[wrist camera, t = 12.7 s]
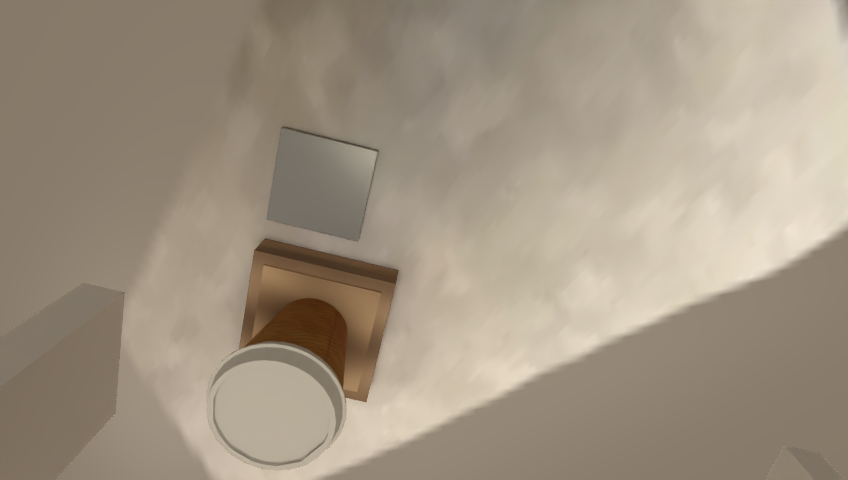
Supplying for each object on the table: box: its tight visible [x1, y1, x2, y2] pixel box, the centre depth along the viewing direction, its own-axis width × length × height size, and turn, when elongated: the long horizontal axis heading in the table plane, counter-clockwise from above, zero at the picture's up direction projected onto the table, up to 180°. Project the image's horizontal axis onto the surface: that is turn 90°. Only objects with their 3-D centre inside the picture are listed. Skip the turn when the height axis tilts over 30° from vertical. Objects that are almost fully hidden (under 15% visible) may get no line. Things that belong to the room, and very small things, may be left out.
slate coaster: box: [267, 127, 378, 241], centre depth 47 cm, size 8×8×1 cm
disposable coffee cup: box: [207, 298, 348, 470], centre depth 42 cm, size 10×10×12 cm
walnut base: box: [239, 239, 398, 402], centre depth 50 cm, size 12×12×3 cm
